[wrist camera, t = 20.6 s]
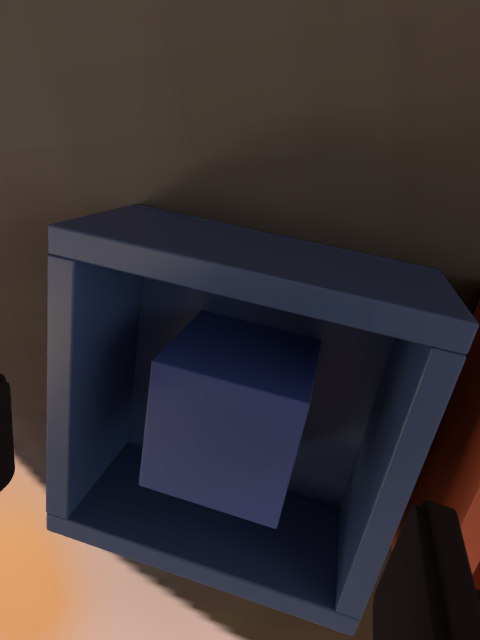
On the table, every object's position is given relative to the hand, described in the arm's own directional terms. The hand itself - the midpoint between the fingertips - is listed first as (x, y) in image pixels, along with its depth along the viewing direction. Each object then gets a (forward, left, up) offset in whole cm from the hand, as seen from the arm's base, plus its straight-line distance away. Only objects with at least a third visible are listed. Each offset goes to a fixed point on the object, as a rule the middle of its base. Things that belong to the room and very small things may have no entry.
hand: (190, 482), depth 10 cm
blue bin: (+1, 0, -8) cm, 8 cm away
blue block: (+1, 0, -7) cm, 7 cm away
